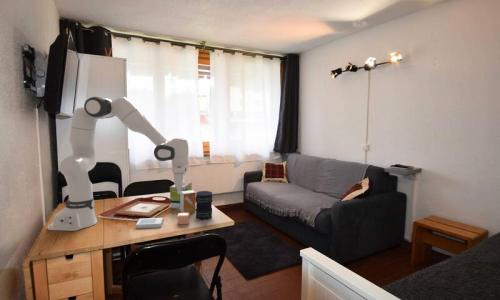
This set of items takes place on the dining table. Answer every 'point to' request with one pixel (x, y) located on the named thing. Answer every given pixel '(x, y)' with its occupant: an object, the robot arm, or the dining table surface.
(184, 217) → the stub
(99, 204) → the dining table surface
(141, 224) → the white flat box
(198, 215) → the storage jar
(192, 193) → the small box
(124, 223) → the dining table surface
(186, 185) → the tea box
